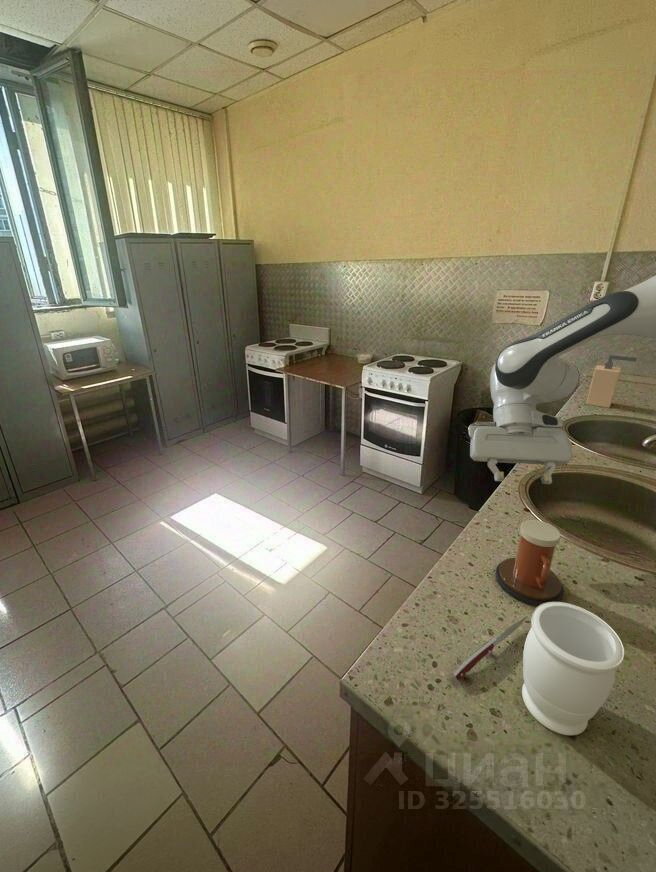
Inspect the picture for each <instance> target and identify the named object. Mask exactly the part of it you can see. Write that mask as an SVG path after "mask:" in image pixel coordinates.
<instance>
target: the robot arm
mask: <svg viewBox="0 0 656 872" xmlns="http://www.w3.org/2000/svg"><path fill="white" fill-rule="evenodd" d="M620 335H621V336H637V337H644V338H649V339H656V274H655V275H654V276H652V277H649V278H648V279H646V280H645V281H642V282H640V283H638V284H635V285H633V286H631V287H629V288H626V289H624V290H621V291H616V292H612V293H610V294H606V295H605V296H602V297H600V298H598V299H596V300H594V301H592V302H590V303H588V304H586V305H585V306H582V307H581V308H578V309H577V310H575V311H574V312H572V313H570V314H568V315H566V316H565V317H563V318H562V319H560V320H558V321H556V322H554V323H553V324H551V325H549V326H547V327H546V328H545V327H544V329H541V330H540V331H538V332H536V333H534V334H532V335H530V336H526V337H524V338H520V339H518V340H515V341H513V342H511V343H509V344H507V346H505V347H504V348H503V349H502V350H501V351H500V353H499V354H498V355H497V358H496V360H495V363H494V364H493V366H492V368H491V371H490V376H489V377H490V378H489V388H490V397H491V400H492V402H493V409H492V417H493V421H474V422H473V423H470V424H469V426H467V427H468V429H467V432H468V434H467V435H468V437H469V439H470V442H469V443H470V445H469V456H470V459H472V460H473V461H474V462H487V467H488V469H489V470H490V471H491V472H492V474H493V478H494V481H495V482H503V481H505V476H504V475H505V473H504V471H500V470H499V468H498V466H497V464H498V463H506V464H523V465H524V464H525V465H543V467H544V470H546V472H545V473H543V474H542V475H540V476H539V477H540V483H541V485H551V484H552V483H553V478H552V475H553V473H554V471H555V469H556V467H557V466H565V465H567V464H569V463H570V462H571V461H572V460H573V459H574V453H573V449H572V444H571V441H570V438H569V436H568V434H567V432H566V431H565V430H563V429H562V428H563V426H564V422H563V421H564V420H563V419H562V418H560V417H559V416H558V417H557V416H556V415H555V416H554V415H551V414H548V413H544V412H542V411H539V410H537V405H542V404H544V405H545V404H550V403H555V402H559V401H562V400H565V399H567V398H568V397H569V396H571V395H572V394H573V393H574V392H575V390H576V389H577V387H578V385H579V384H580V383H579V382H580V370H579V368H578V367H577V366H576V364H574V363H572V362H571V361H569V360H567V359H565V358H563V357H562V356H563V355H565V354H567V353H569V352H571V351H572V350H575V349H576V348H577V349H578V347H581V346H582V345H585V344H586V343H588V342H590V341H592V340H596V339H598V338H602V337H608V336H620Z"/></svg>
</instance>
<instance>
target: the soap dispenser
mask: <svg viewBox="0 0 656 872" xmlns="http://www.w3.org/2000/svg"><path fill="white" fill-rule="evenodd" d="M637 358H638V357H635V356H625V355H614V354H610V355H609V358H608V361H606V362H605V365H600V364H596V366H595V367H594V371H593V374H592V379H591V383H590V386H589V390H588V395H587V398H586V403H585V404H586V405H590V406H595V407H600V408H601V407H602V408H608V409H609V408H611V406H612V403H613V399H614V396H615V392H616V390H617V389H616V388H617V384H618V383H619V382H618V381H619V377H620V375H621V371H622V367H618V366H614V361H613V360H617V361H626V362H627V361H628V362H635V363H636V362H637Z"/></svg>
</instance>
